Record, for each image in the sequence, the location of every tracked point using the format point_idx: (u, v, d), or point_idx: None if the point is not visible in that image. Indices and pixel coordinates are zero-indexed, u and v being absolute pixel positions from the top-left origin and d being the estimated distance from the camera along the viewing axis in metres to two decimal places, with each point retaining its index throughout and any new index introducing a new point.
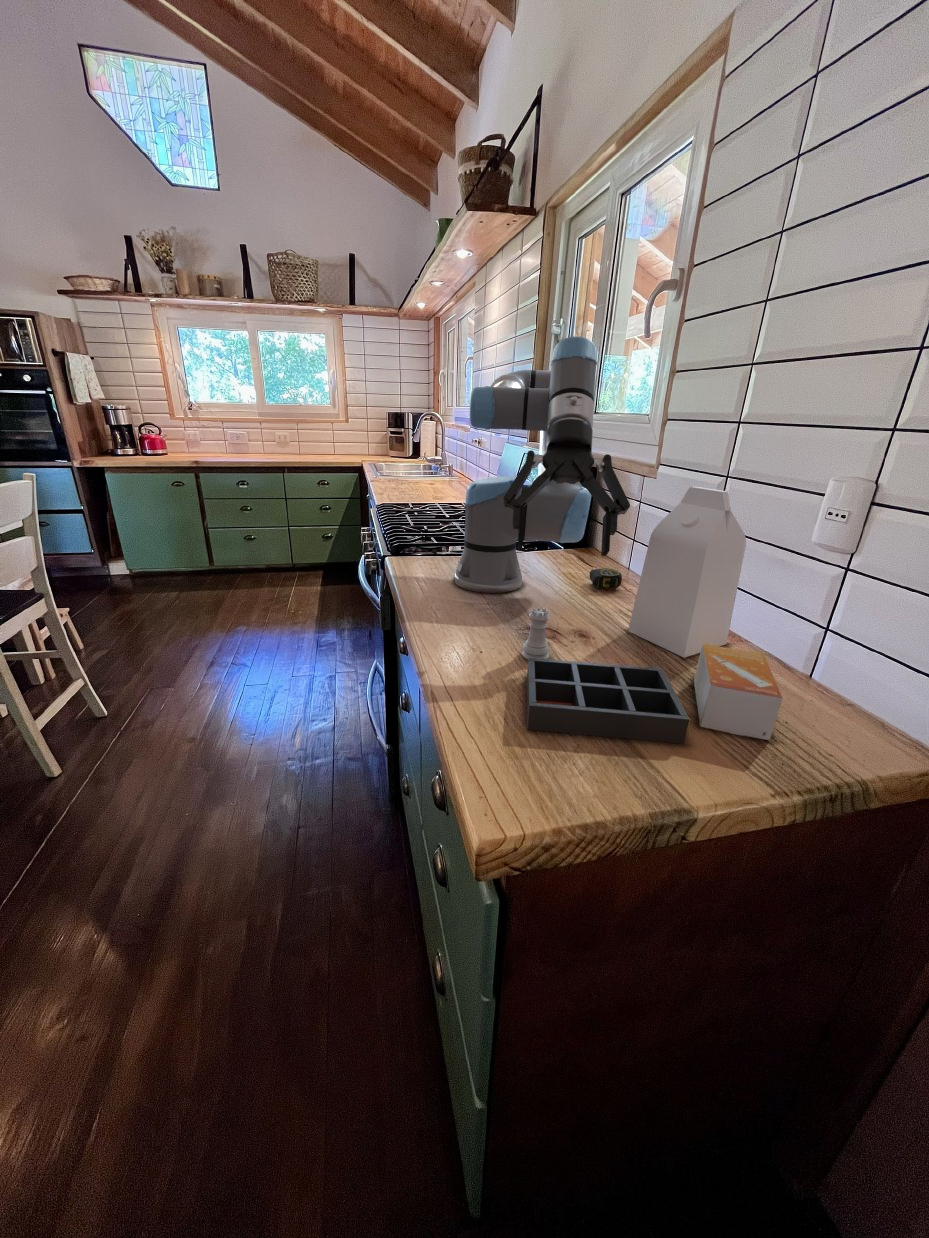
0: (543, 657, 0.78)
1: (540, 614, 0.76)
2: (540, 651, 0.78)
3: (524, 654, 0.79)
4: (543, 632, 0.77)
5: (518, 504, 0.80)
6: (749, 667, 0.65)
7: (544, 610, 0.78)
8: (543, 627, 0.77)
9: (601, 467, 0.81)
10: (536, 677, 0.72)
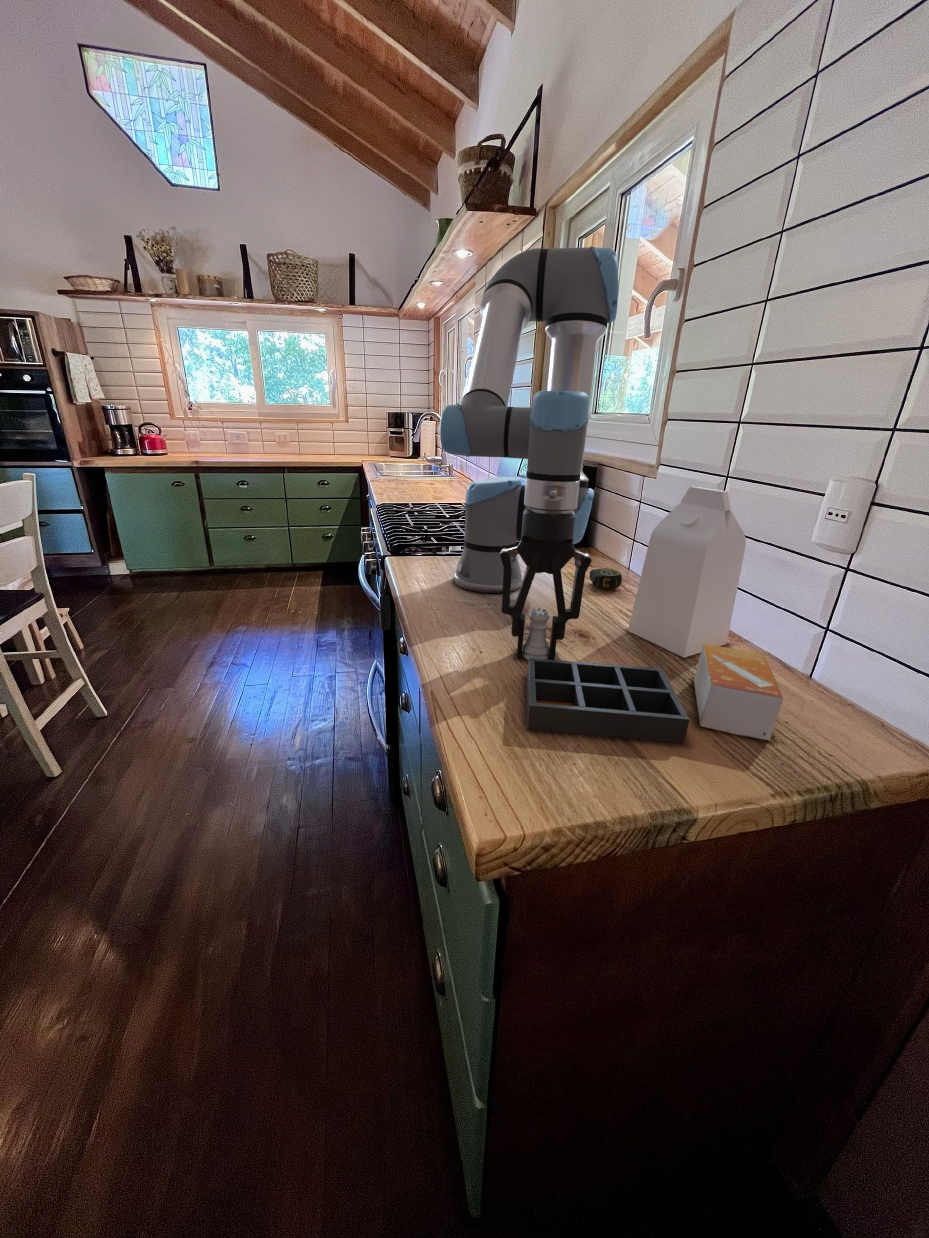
0: (543, 657, 0.78)
1: (540, 614, 0.76)
2: (540, 651, 0.78)
3: (524, 654, 0.79)
4: (543, 632, 0.77)
5: (518, 616, 0.76)
6: (750, 667, 0.65)
7: (544, 610, 0.78)
8: (543, 627, 0.77)
9: (576, 565, 0.73)
10: (536, 677, 0.72)
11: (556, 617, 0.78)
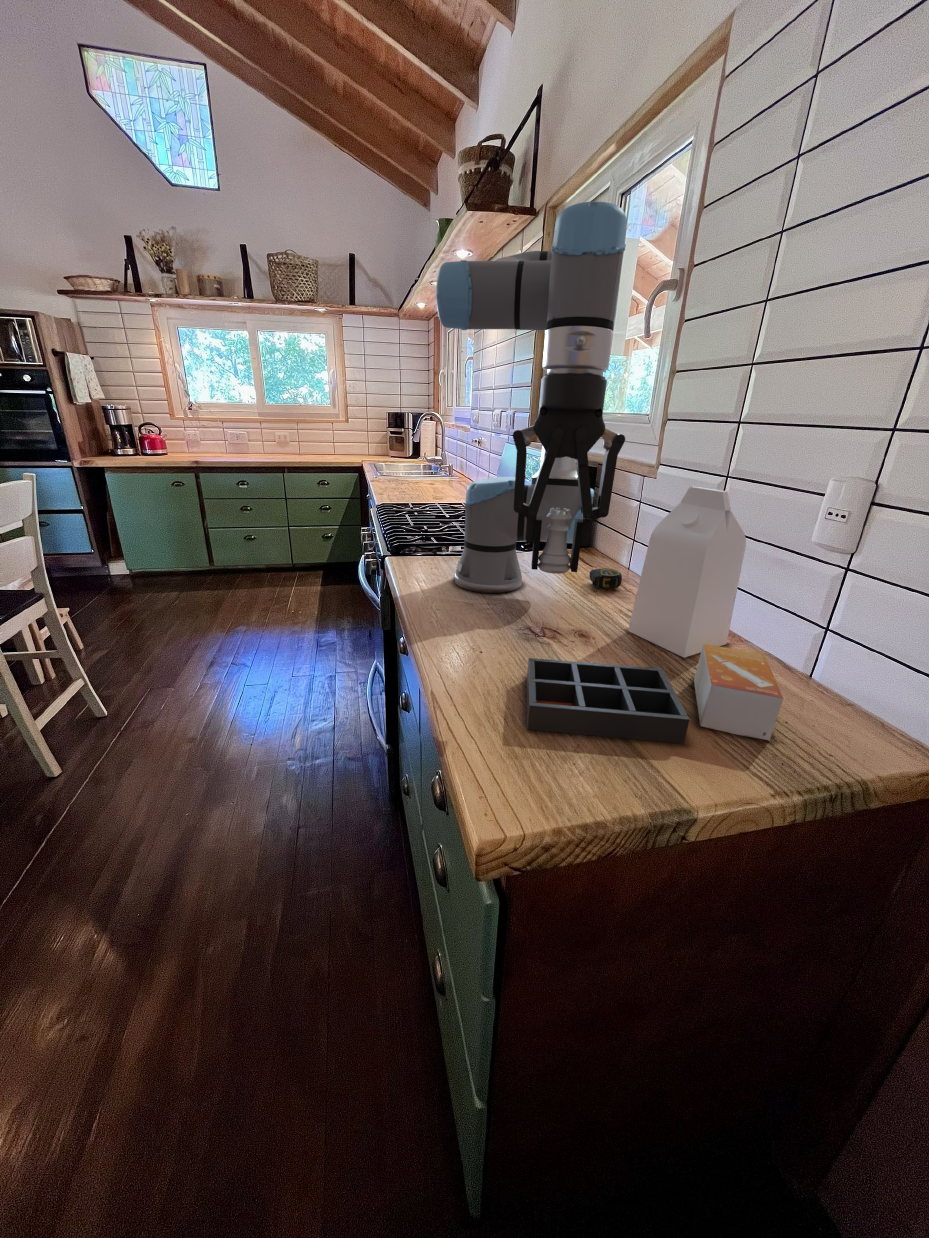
0: (564, 568, 0.65)
1: (561, 512, 0.62)
2: (560, 559, 0.64)
3: (540, 565, 0.66)
4: (564, 537, 0.64)
5: (533, 516, 0.63)
6: (750, 667, 0.65)
7: (565, 510, 0.64)
8: (564, 529, 0.63)
9: (606, 447, 0.60)
10: (536, 677, 0.72)
11: (579, 519, 0.64)
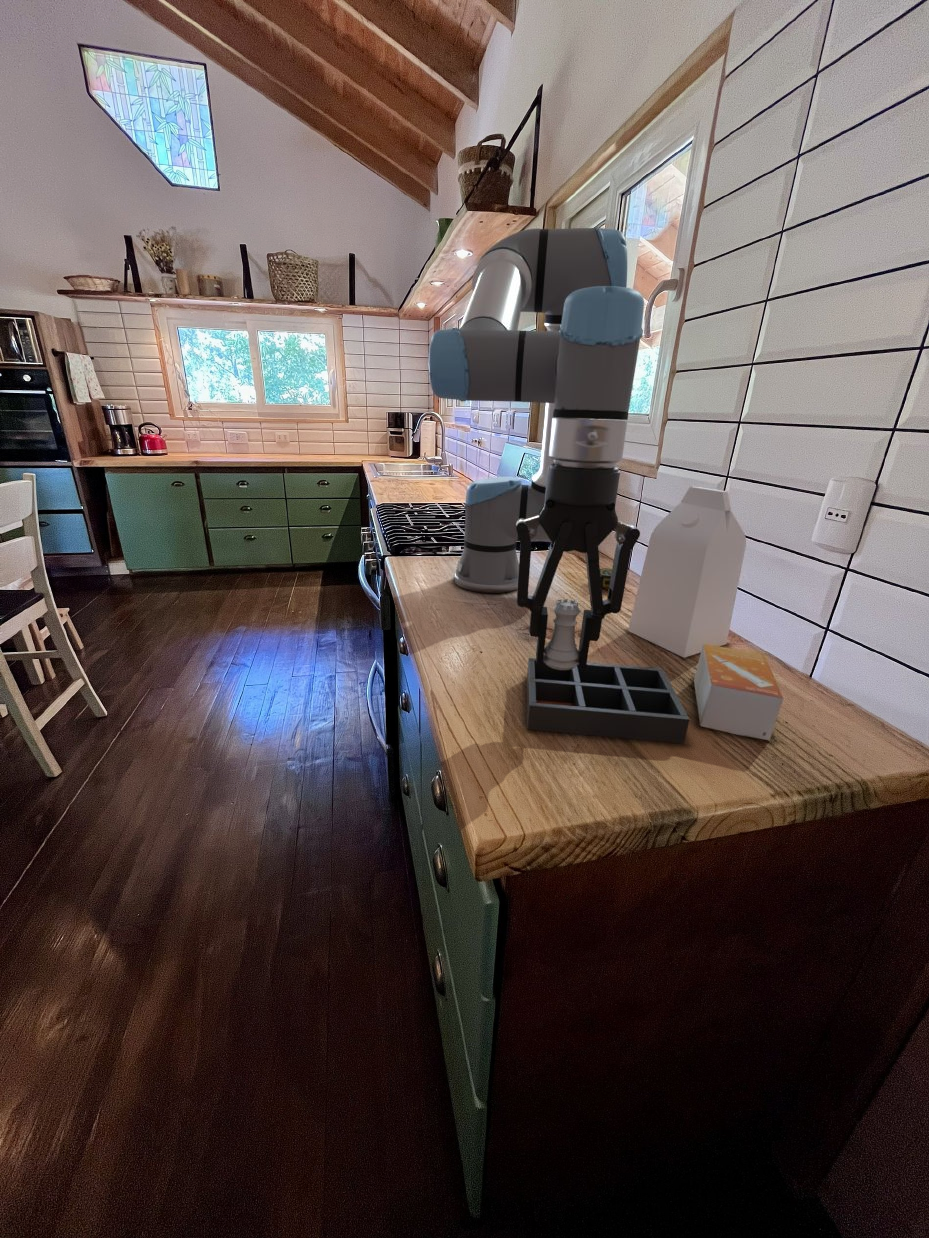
0: (571, 664, 0.59)
1: (569, 607, 0.57)
2: (568, 655, 0.59)
3: (546, 660, 0.60)
4: (571, 631, 0.59)
5: (539, 610, 0.58)
6: (750, 667, 0.65)
7: (573, 602, 0.59)
8: (572, 624, 0.58)
9: (619, 540, 0.54)
10: (536, 677, 0.72)
11: (589, 611, 0.59)
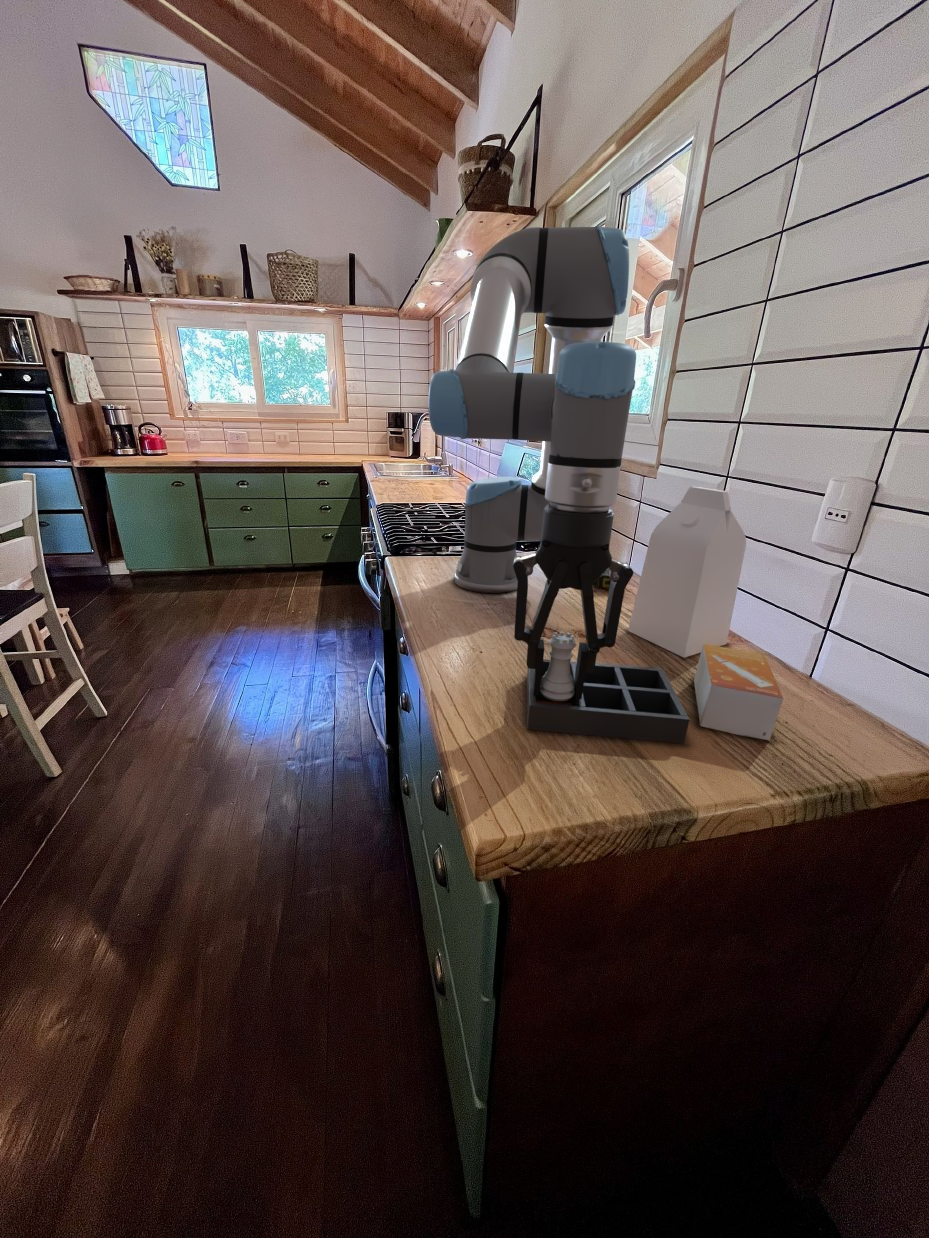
0: (567, 695, 0.61)
1: (564, 641, 0.59)
2: (564, 687, 0.60)
3: (543, 691, 0.62)
4: (567, 664, 0.60)
5: (535, 644, 0.59)
6: (750, 667, 0.65)
7: (569, 635, 0.61)
8: (568, 657, 0.60)
9: (613, 578, 0.56)
10: None
11: (584, 644, 0.61)
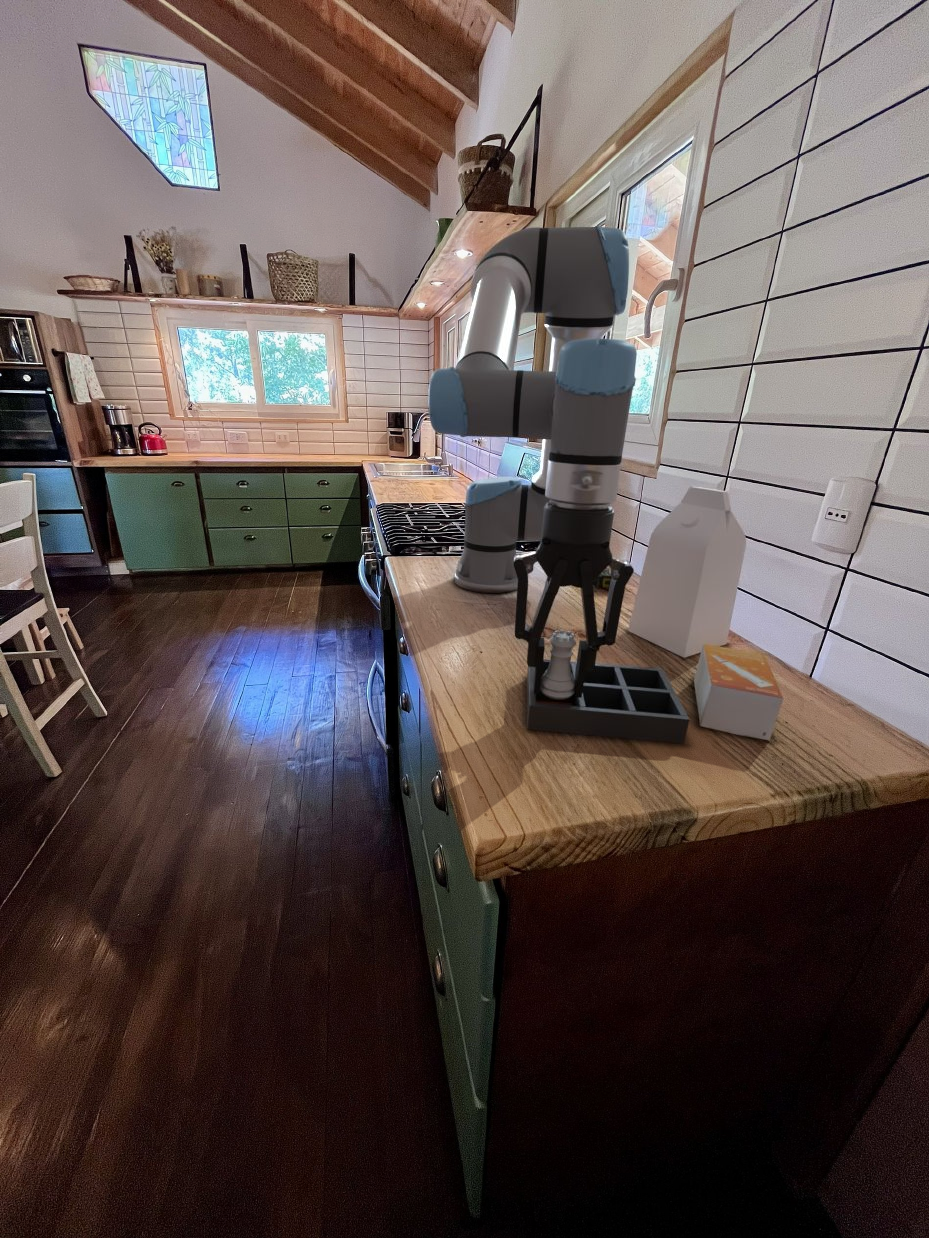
0: (568, 693, 0.61)
1: (565, 639, 0.59)
2: (564, 686, 0.60)
3: (543, 689, 0.62)
4: (567, 662, 0.60)
5: (536, 642, 0.59)
6: (750, 667, 0.65)
7: (569, 633, 0.60)
8: (568, 655, 0.60)
9: (613, 576, 0.56)
10: None
11: (584, 642, 0.61)
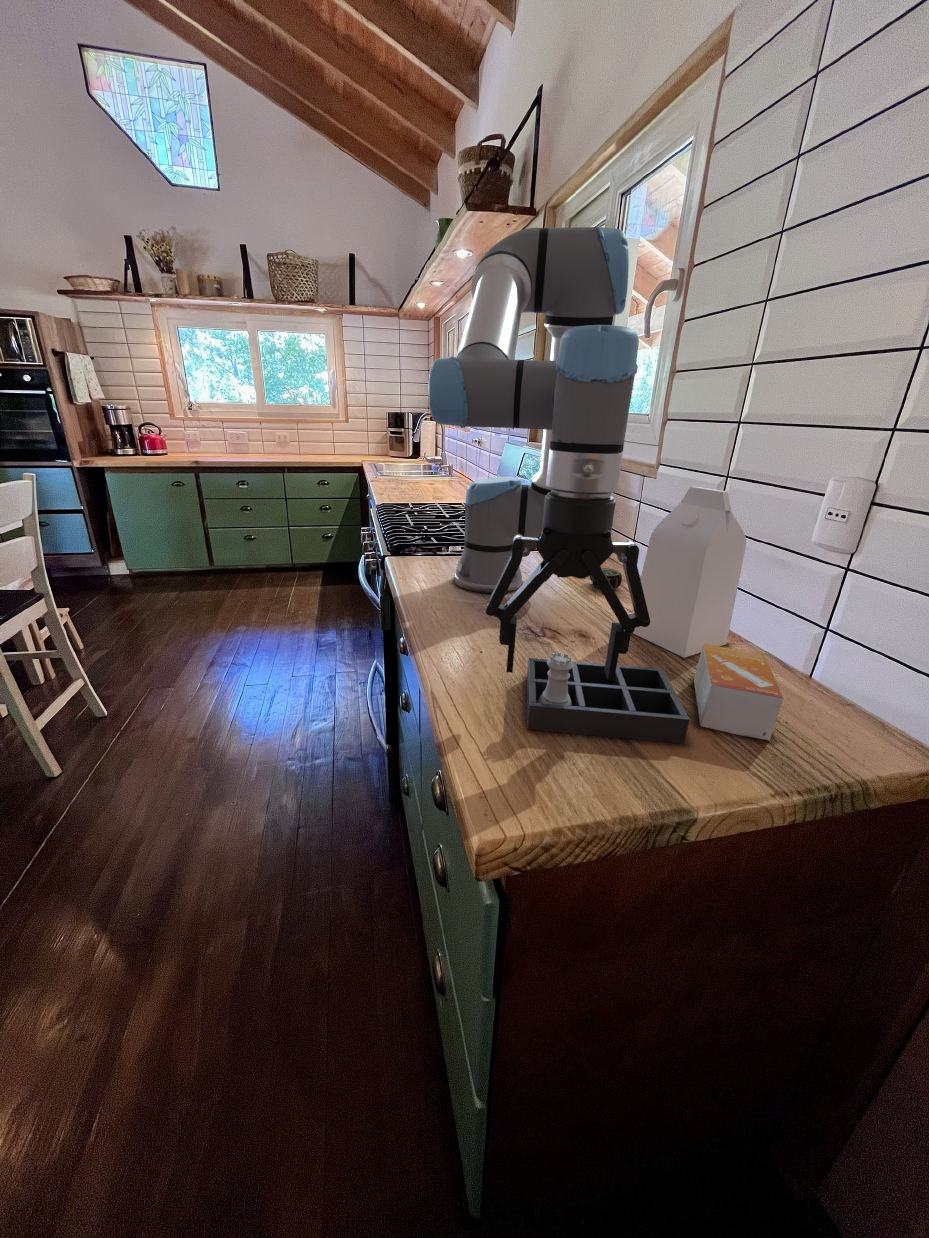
0: None
1: (562, 662, 0.60)
2: None
3: None
4: (565, 684, 0.61)
5: (506, 620, 0.58)
6: (750, 667, 0.65)
7: (566, 656, 0.62)
8: (565, 678, 0.61)
9: (622, 560, 0.55)
10: (536, 677, 0.72)
11: (617, 624, 0.59)
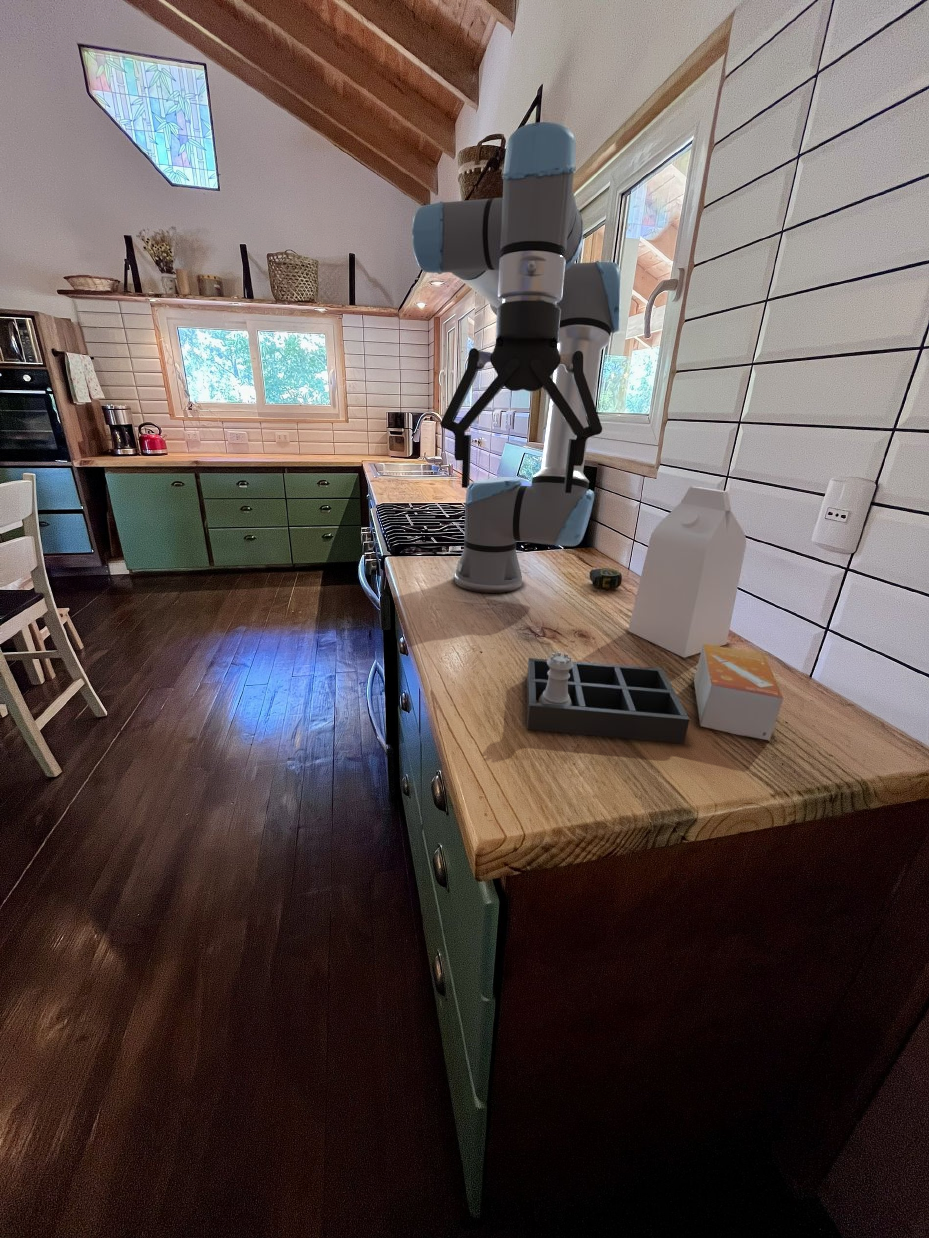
0: None
1: (562, 662, 0.60)
2: None
3: None
4: (565, 684, 0.61)
5: (460, 432, 0.63)
6: (750, 667, 0.65)
7: (566, 656, 0.62)
8: (565, 678, 0.61)
9: (569, 370, 0.60)
10: (536, 677, 0.72)
11: (573, 439, 0.64)
